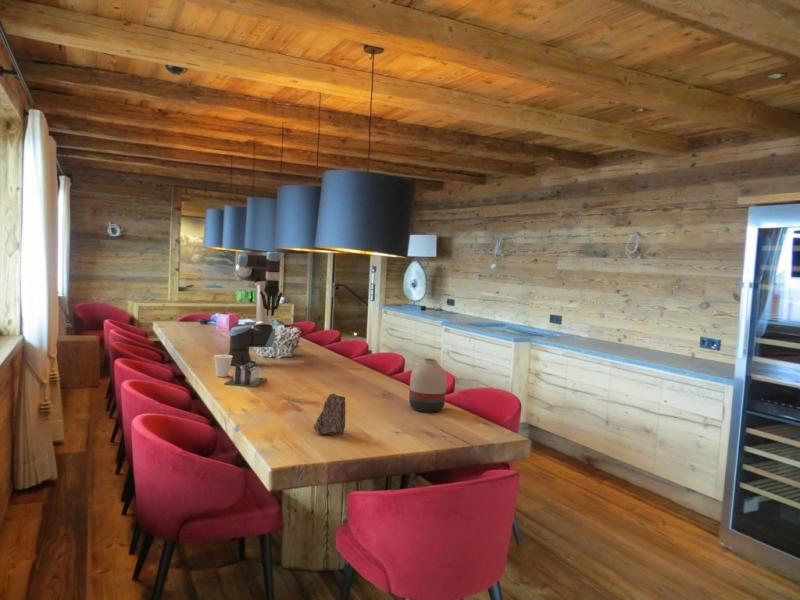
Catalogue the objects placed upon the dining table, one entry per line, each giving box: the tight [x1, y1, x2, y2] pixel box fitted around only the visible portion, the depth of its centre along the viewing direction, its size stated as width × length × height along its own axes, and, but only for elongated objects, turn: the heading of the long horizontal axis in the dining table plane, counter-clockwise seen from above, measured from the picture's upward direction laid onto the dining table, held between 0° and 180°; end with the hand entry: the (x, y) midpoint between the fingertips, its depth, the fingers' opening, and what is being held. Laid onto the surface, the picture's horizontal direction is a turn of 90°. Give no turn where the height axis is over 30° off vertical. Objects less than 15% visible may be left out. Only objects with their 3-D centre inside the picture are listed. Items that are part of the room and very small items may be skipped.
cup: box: [213, 354, 233, 378], centre depth 312 cm, size 10×10×11 cm
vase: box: [408, 358, 448, 413], centre depth 268 cm, size 17×17×24 cm
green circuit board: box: [223, 360, 268, 388], centre depth 301 cm, size 20×16×10 cm
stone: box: [313, 393, 346, 436], centre depth 221 cm, size 13×13×15 cm
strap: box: [239, 362, 254, 370], centre depth 300 cm, size 15×3×1 cm, turn 175°
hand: (270, 321), depth 322 cm, fingers closed
